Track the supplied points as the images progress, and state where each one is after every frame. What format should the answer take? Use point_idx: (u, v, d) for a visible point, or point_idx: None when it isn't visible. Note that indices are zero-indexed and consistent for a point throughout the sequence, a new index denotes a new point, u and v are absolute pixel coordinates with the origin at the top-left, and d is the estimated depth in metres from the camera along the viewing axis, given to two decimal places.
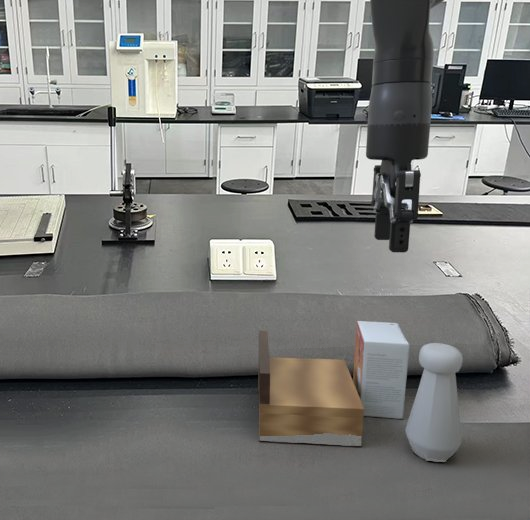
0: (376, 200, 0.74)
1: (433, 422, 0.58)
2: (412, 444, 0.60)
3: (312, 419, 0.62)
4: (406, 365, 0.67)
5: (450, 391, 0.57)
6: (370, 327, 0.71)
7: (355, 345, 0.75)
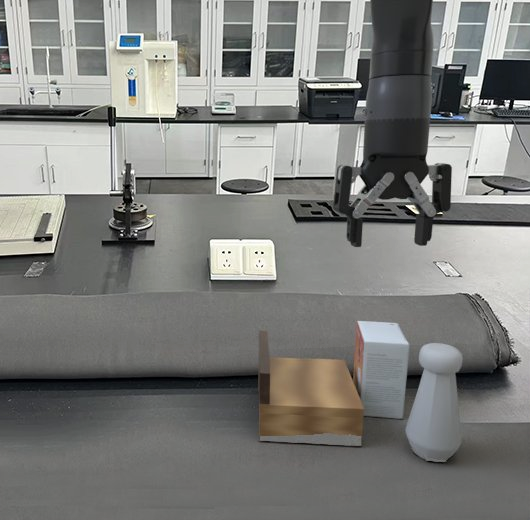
0: (409, 199, 0.69)
1: (433, 422, 0.58)
2: (412, 444, 0.60)
3: (312, 419, 0.62)
4: (406, 365, 0.67)
5: (450, 391, 0.57)
6: (370, 327, 0.71)
7: (355, 345, 0.75)
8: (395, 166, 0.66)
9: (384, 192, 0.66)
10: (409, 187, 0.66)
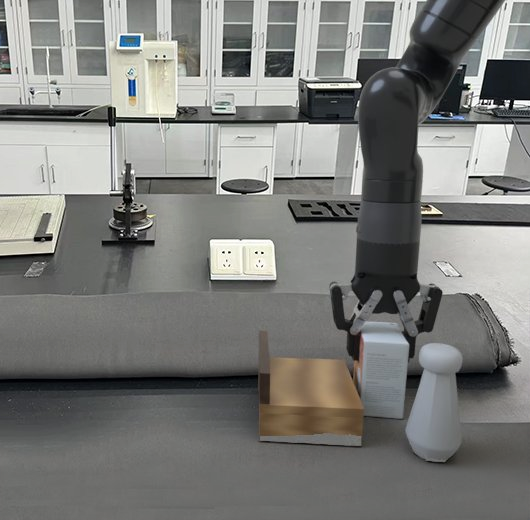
0: (397, 313, 0.71)
1: (433, 422, 0.58)
2: (412, 444, 0.60)
3: (312, 419, 0.62)
4: (406, 365, 0.67)
5: (450, 391, 0.57)
6: (370, 327, 0.71)
7: None
8: (385, 283, 0.68)
9: None
10: (396, 304, 0.68)
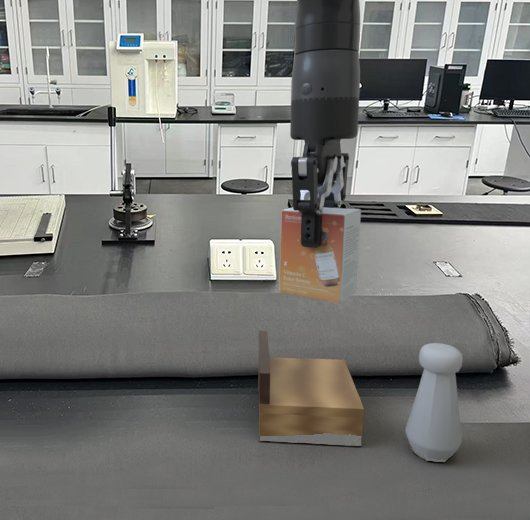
0: None
1: (433, 422, 0.58)
2: (412, 444, 0.60)
3: (312, 419, 0.62)
4: (359, 232, 0.64)
5: (450, 391, 0.57)
6: None
7: (282, 240, 0.64)
8: (331, 150, 0.61)
9: None
10: (336, 173, 0.63)
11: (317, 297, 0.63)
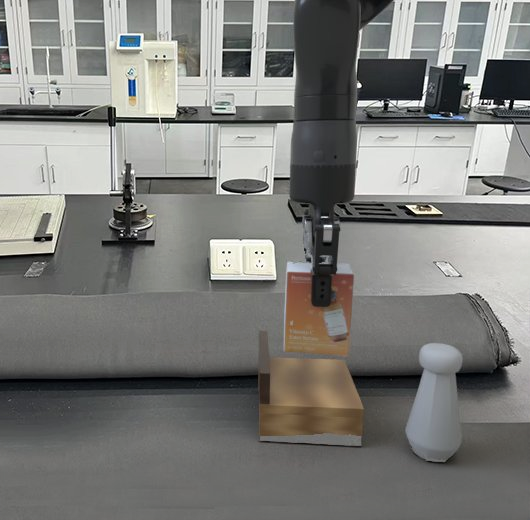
0: (305, 246, 0.67)
1: (433, 422, 0.58)
2: (412, 444, 0.60)
3: (312, 419, 0.62)
4: None
5: (450, 391, 0.57)
6: (310, 268, 0.64)
7: (288, 300, 0.64)
8: None
9: None
10: None
11: (325, 352, 0.65)
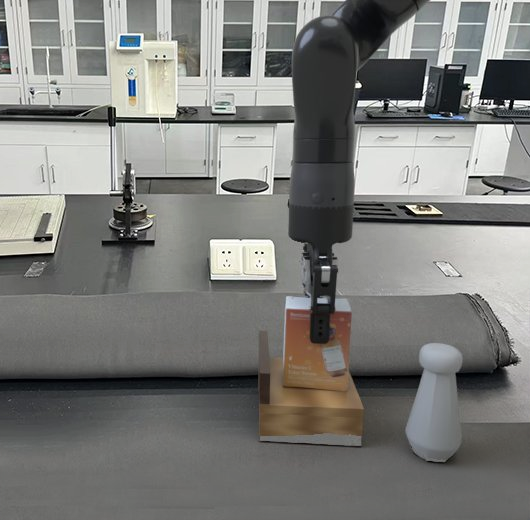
0: (304, 281, 0.68)
1: (433, 422, 0.58)
2: (412, 444, 0.60)
3: (312, 419, 0.62)
4: None
5: (450, 391, 0.57)
6: (309, 305, 0.65)
7: (287, 336, 0.65)
8: None
9: None
10: None
11: (324, 387, 0.66)
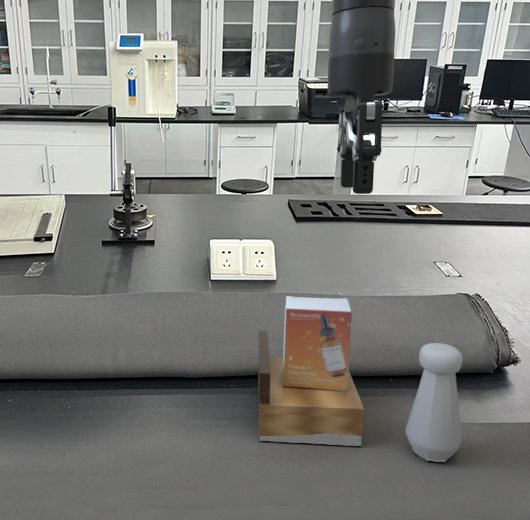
0: (341, 144, 0.69)
1: (433, 422, 0.58)
2: (412, 444, 0.60)
3: (312, 419, 0.62)
4: None
5: (450, 391, 0.57)
6: (309, 305, 0.65)
7: (287, 336, 0.65)
8: None
9: None
10: None
11: (324, 387, 0.66)
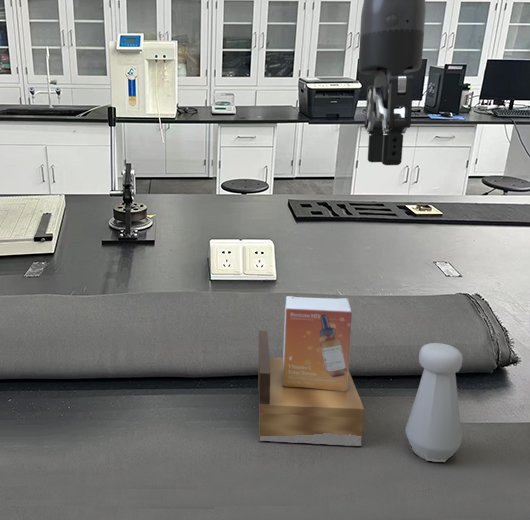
0: (369, 119, 0.72)
1: (433, 422, 0.58)
2: (412, 444, 0.60)
3: (312, 419, 0.62)
4: None
5: (450, 391, 0.57)
6: (309, 305, 0.65)
7: (287, 336, 0.65)
8: None
9: None
10: None
11: (324, 387, 0.66)
